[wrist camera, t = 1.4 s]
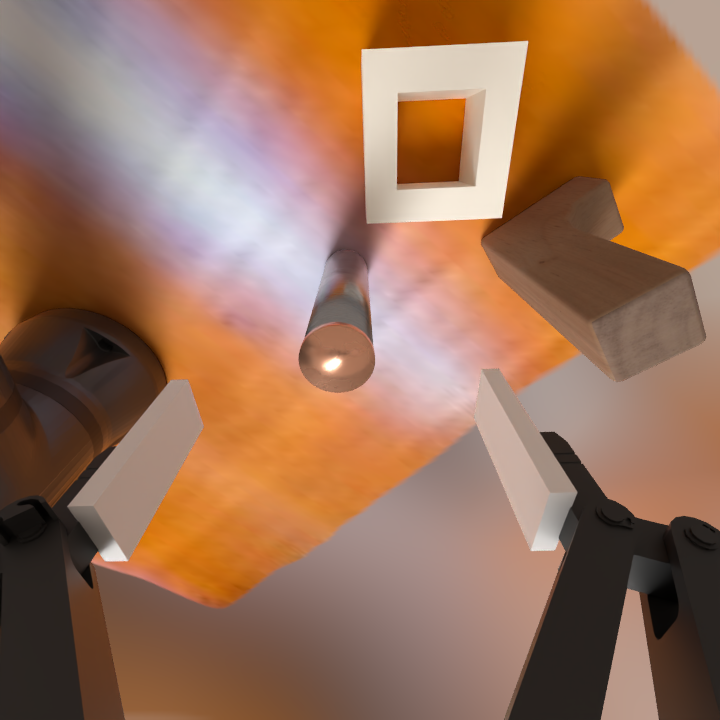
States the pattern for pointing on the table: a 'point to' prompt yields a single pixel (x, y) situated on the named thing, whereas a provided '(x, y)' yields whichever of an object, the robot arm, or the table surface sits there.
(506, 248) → the wooden block
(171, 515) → the table surface
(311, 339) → the peg
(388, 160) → the socket
